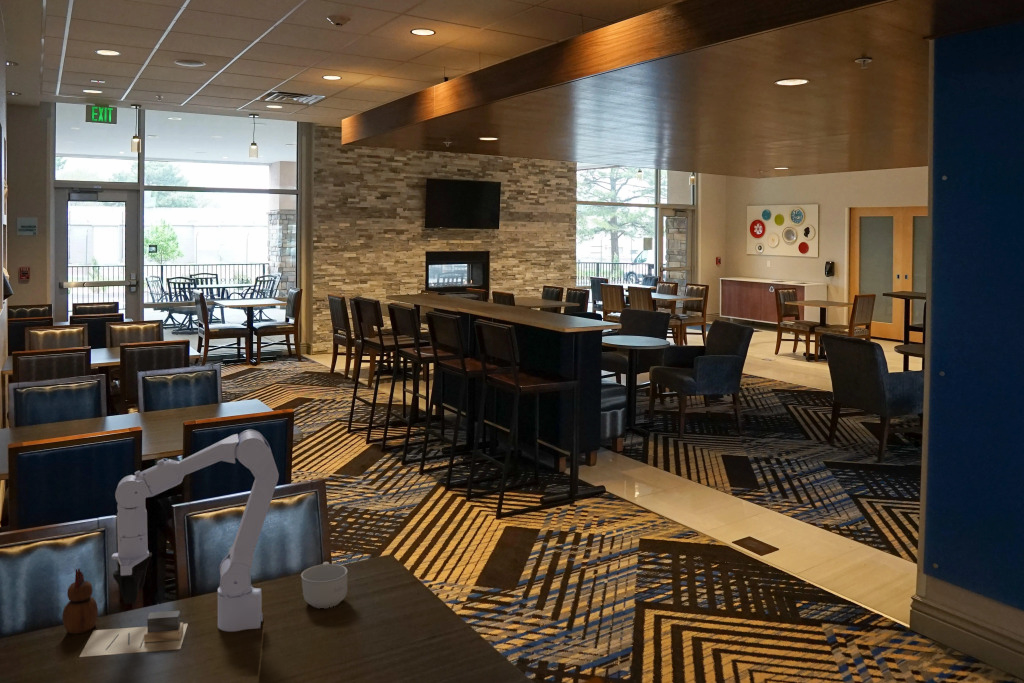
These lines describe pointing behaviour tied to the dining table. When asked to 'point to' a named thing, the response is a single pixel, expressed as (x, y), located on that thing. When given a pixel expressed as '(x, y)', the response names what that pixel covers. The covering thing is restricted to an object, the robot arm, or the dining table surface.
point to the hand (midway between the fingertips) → (134, 595)
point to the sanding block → (163, 627)
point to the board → (125, 642)
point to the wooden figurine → (80, 606)
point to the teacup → (324, 585)
